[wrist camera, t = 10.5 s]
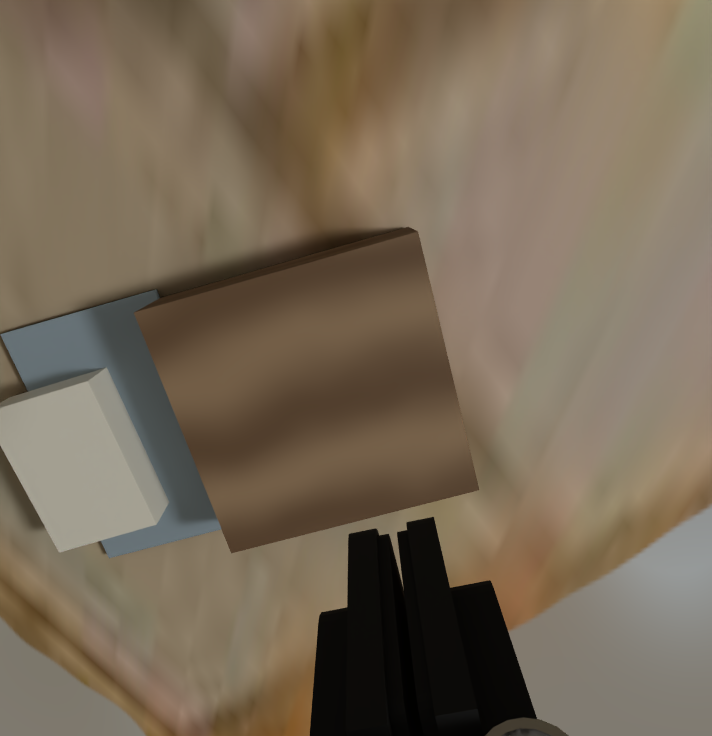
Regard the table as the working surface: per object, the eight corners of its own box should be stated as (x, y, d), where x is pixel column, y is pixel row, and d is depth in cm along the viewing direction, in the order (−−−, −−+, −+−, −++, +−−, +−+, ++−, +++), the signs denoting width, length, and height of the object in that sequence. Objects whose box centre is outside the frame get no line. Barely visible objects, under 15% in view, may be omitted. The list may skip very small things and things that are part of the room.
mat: (3, 333, 31) (0, 334, 30) (156, 289, 30) (154, 290, 30) (111, 555, 35) (109, 558, 35) (246, 520, 35) (245, 522, 34)
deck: (160, 297, 30) (133, 312, 26) (408, 226, 29) (418, 231, 26) (243, 513, 34) (231, 553, 31) (463, 456, 34) (479, 489, 30)
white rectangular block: (87, 381, 29) (106, 367, 31) (-18, 413, 29) (8, 397, 31) (156, 524, 31) (169, 502, 34) (59, 552, 32) (78, 528, 34)
